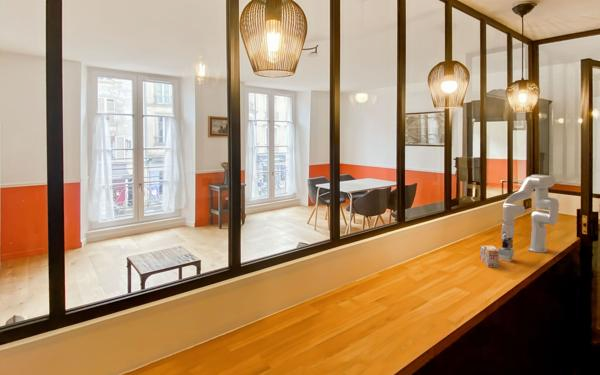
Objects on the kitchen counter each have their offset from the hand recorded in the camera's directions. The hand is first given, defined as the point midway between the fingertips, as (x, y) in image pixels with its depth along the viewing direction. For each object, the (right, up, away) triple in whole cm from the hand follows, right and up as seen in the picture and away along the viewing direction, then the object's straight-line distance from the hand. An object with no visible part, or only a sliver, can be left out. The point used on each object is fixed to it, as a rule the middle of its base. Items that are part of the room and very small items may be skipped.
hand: (507, 246), depth 275 cm
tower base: (0, -10, +1) cm, 10 cm away
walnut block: (0, -1, 0) cm, 1 cm away
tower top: (0, -6, +1) cm, 6 cm away
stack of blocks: (-16, -11, -5) cm, 20 cm away
